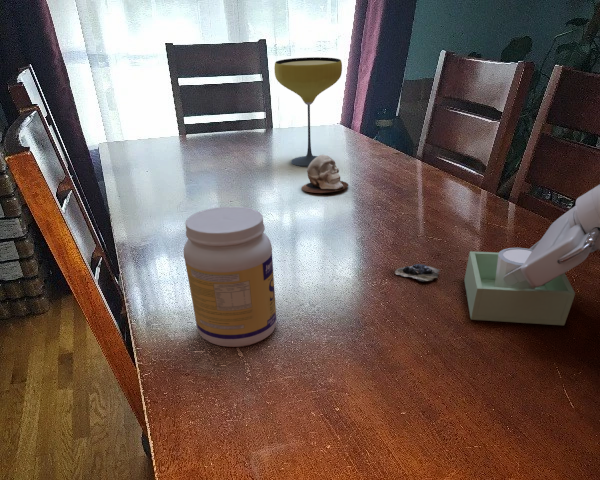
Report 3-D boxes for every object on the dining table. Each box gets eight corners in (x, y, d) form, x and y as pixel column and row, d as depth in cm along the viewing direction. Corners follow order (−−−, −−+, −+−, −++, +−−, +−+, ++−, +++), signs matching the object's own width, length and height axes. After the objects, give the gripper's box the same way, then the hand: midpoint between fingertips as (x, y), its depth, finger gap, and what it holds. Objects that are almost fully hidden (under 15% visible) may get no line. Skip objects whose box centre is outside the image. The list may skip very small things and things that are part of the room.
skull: (361, 183, 129) (342, 156, 121) (337, 217, 130) (316, 192, 122) (331, 171, 137) (311, 145, 129) (309, 204, 138) (287, 180, 130)
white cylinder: (538, 293, 82) (550, 251, 78) (528, 311, 78) (540, 268, 74) (496, 284, 86) (505, 243, 81) (483, 301, 81) (492, 259, 77)
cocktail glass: (277, 155, 157) (271, 59, 142) (334, 152, 159) (336, 56, 143) (281, 172, 143) (276, 66, 128) (345, 168, 145) (347, 63, 129)
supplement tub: (286, 342, 75) (280, 228, 64) (203, 357, 72) (183, 241, 62) (266, 303, 84) (258, 199, 73) (192, 316, 81) (173, 209, 71)
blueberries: (436, 286, 87) (437, 276, 86) (389, 280, 89) (390, 270, 88) (441, 269, 92) (443, 260, 91) (397, 264, 94) (398, 254, 93)
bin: (546, 284, 87) (555, 254, 83) (564, 325, 76) (575, 293, 73) (464, 280, 89) (469, 251, 85) (470, 319, 78) (477, 288, 75)
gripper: (605, 266, 63) (506, 315, 73) (627, 215, 76) (540, 263, 86) (578, 224, 62) (482, 280, 72) (604, 179, 75) (520, 232, 85)
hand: (514, 270), depth 79 cm, fingers closed on white cylinder, 7 cm apart
